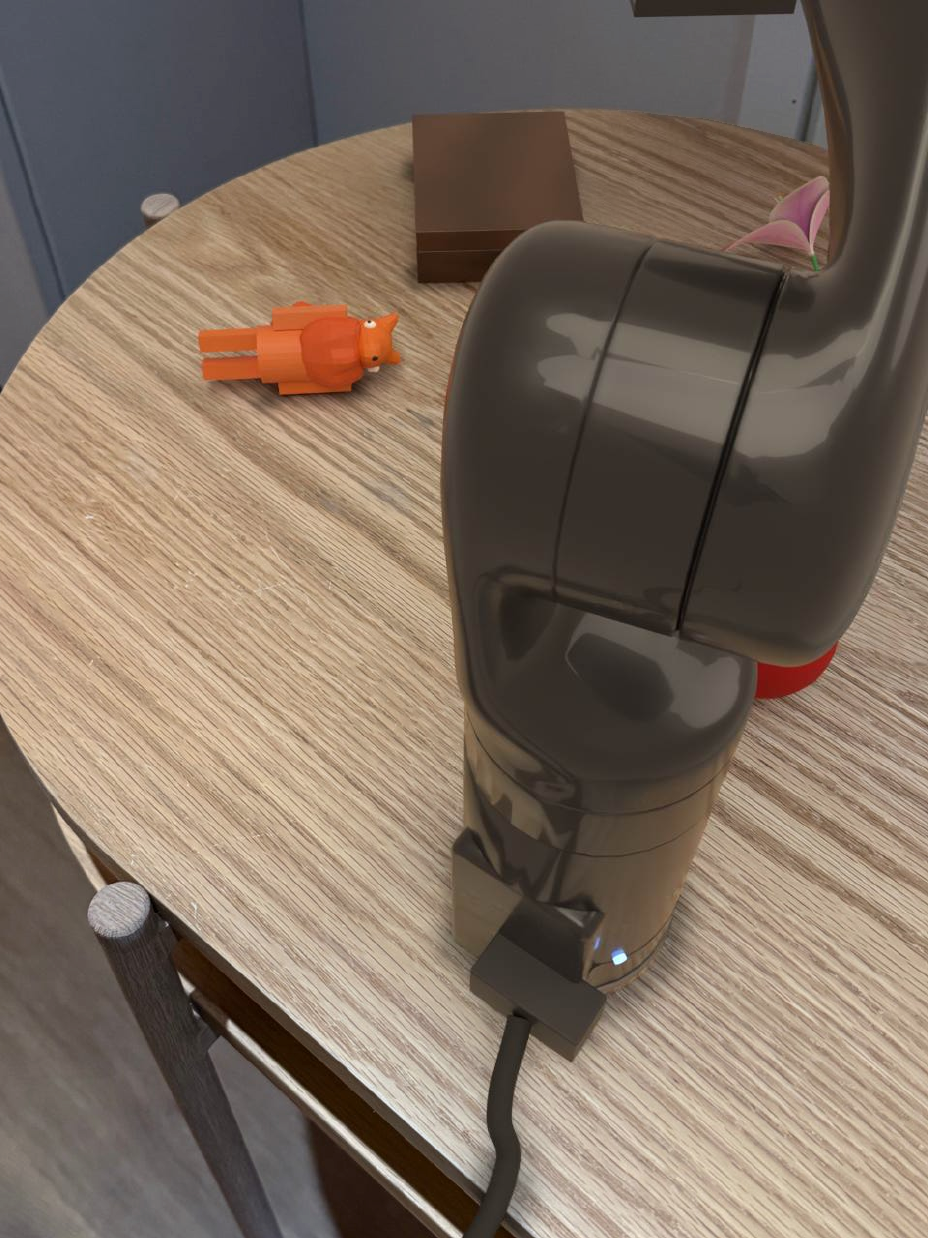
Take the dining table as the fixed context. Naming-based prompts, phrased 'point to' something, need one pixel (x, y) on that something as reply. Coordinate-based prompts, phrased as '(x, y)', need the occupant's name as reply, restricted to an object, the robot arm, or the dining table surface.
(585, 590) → the robot arm
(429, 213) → the brown lidded case
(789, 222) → the lily
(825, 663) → the christmas ornament
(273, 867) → the dining table surface
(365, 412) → the dining table surface
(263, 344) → the orange toy figure
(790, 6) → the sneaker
